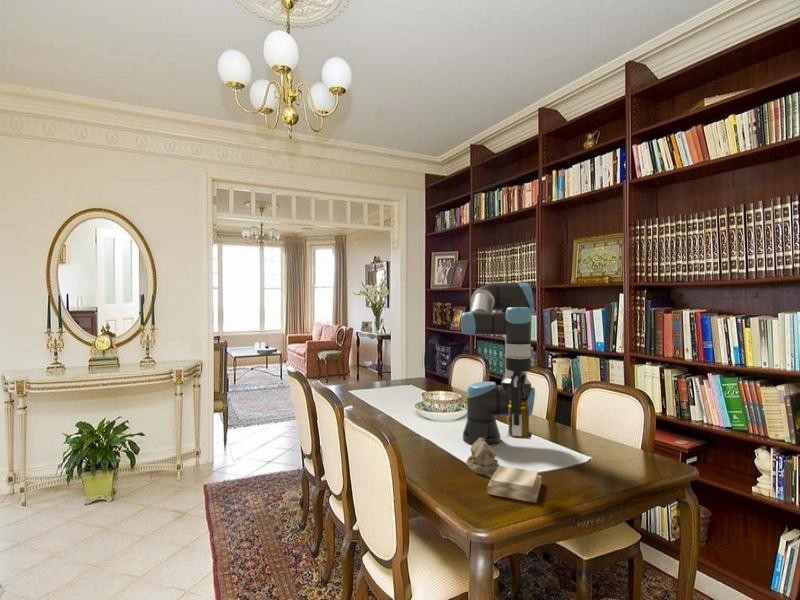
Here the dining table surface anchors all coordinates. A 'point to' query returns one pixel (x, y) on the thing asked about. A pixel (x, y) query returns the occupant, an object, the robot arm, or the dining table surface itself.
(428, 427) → the dining table surface
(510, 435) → the condiment
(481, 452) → the ceramic model
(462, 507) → the dining table surface
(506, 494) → the plinth
